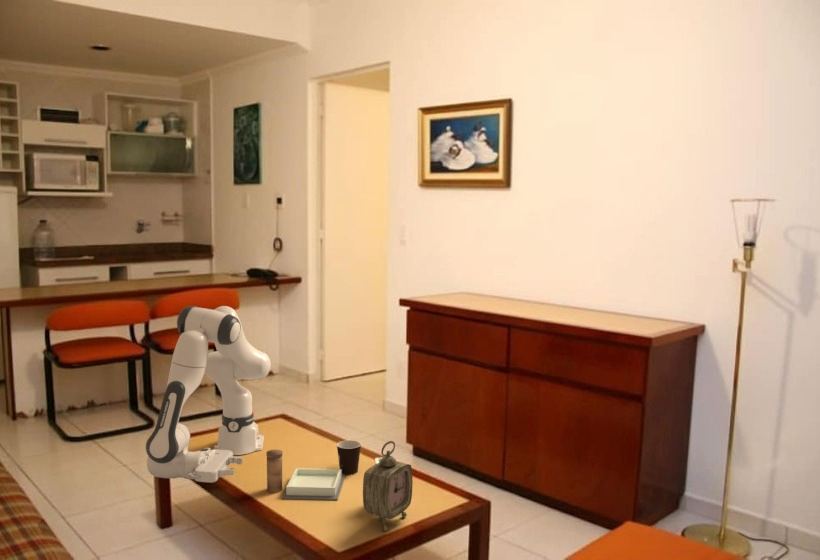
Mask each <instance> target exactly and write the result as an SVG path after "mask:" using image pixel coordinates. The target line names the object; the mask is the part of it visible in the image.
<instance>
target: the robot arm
mask: <svg viewBox="0 0 820 560" xmlns="http://www.w3.org/2000/svg"><path fill="white" fill-rule="evenodd" d="M176 327H177V328H176V329H177V331H178V333H179V337H178V339H177V342H176V345H175V348H174V350H173V353H172V359H171V364H170V369H169V373H168V380H167V384H166V387H165V392H164V396H163V397H162V398H163V399H162V402H161V406H160V410H159V414H158V417H157V422H156V424H155V428H154V429H153V432H152V433H151V435H149V437H148V439H147V440H146V442H145V450H146V451H145V452H146V454H147V461H146V466H147V467H146V468H147V471H148V472H149V474H150V475H151V476H153V477H156V478H162V479H178V478H181V479H182V478H183V479H185V480H194V481H196V482H201V483H211V484H212V483H216V482H217V481H218V480H219V478H221V477H226V476H234V475H235V473H236V469H235V468H233V467H232V468H230V467H229V466H230V465H231V464H236V465H242V464H243V463H244V458H243V457H237V456H241V455H248V454H250V453H253V452H258V451H262V450H263V449H264V448H263V447H264V442H265V441H264V440H265V436H264V434H260V433H259V425H258V424H257V423H256V422H255V410H254V409H253V396H252V392H251V391H250V390H249V389H248V388H246V387H244V386H242V385H241V384H240V383H239V381H238V380H252V381H253V380H259V379H264V378H266V377H267V376H268V375H269V373H270V371H271V368H272V364H271V359H270V357H269V355H268V354H267V353H265V352H263V351H261V350H259V349H257V348H256V347H254V346H253V345H252V344H250V342H249V341H248V340H247V338H246V336H245V332H244V328H243V325H242V322H241V320H240V317H239V316H238V313H237V312H236V311H235V309H234V308H232V307H230V306H227V305H221V306H218V307H216V308H214V309H210V308H205V307H204V308H203V307H199V306H195V305H194V306H193V305H190V306H189V305H188V306H185V307H184V308H183V309H182V310H181V311H180V312H179V314H178V316H177V319H176ZM209 343H213V344H214V346H215V348H216V351H210V352H209ZM204 375H206V376H207V378H209V379H210V380H212V381H213V382H214V384H215V385H216V386H217V388H218V390H219V391H220V395H221V401H222V415H221V426H220V427H219V428H218V431H217V432H218V434H217V435H218V436H217V444H215V445H214V447H213V449H211V448H210V447H204V448H202V449H200V450H196V451H189V447H190V442H191V431H190V429H189V428H188V427H187V425H186V424H184V423H181V422H179V421H180V416H181V413H182V409H183V406H184V404H185V403H186V402H187V400H188V398H189V397H190V396H191V395H192V394H193V393H194V392H195V391H196V390H197V388H199V387H200V385H201V383H202V381H203V378H204ZM228 467H229V468H228ZM227 468H228V469H227Z"/></svg>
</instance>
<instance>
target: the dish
mask: <svg viewBox="0 0 820 560" xmlns="http://www.w3.org/2000/svg"><path fill="white" fill-rule="evenodd" d="M342 475H343V474H342V469H340V468H310V467H308V468H306V467H296V468H295V469H294V472H293V473H292V476H290V479H289V481H288V483H287V485H286V487H285V488H286V489H285V491H286V495H305V496H335V495H336V492H337V489H338V486H339V483H340V480H341V477H342Z"/></svg>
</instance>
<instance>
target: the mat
mask: <svg viewBox="0 0 820 560" xmlns="http://www.w3.org/2000/svg"><path fill="white" fill-rule="evenodd" d="M345 478H346V475H345V474H342V477H341V480H340V483H339V486H338V489H337V492H336V495H335V496H305V495H286V490H285V491H284V493H283V495H282V497H281V499H282V500H303V501H305V500H308V501H309V500H310V501H311V500H312V501H338V499H339V496H340V493H341V491H342V488H343V484H344V482H345V481H344V480H345Z"/></svg>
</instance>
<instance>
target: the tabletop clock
mask: <svg viewBox="0 0 820 560" xmlns="http://www.w3.org/2000/svg"><path fill="white" fill-rule="evenodd" d="M390 444H393V446H392V449H391V451H390V450H387V451H386V454H384V450H385V449H386V446H387V445H390ZM395 449H396V443H395V442H394V440H389V441H387V442H385V443H384V444H383V446H382V448H381V455H382V457H383V458H382V457H381V458H382V459H381V461H380V463H377V464H375V463H374V465H372V466H371V467H368V469H366V470H365V471H364V473H363V481H362V504H363V509H364V510H365V511H366V513H368V514H371V515H374V516H377V517H378V520H379V521H382V524H383V525H382V526H381V531H383V532H386V531H387V530H388V526H387V525H386V519H387V520H392V519H394V518H396V517H398V516H400V515H401V517H402V518H406V517H407V515H408V514H407V512H406V510H407V509H408V508H409V507H410V505H411V503H412V497H413V483H414V481H413V468H412V464H408V463H405V462H401V461H397V460H396V458H395V457H394V456H393V455H392V454H393V453H394V451H395Z"/></svg>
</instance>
